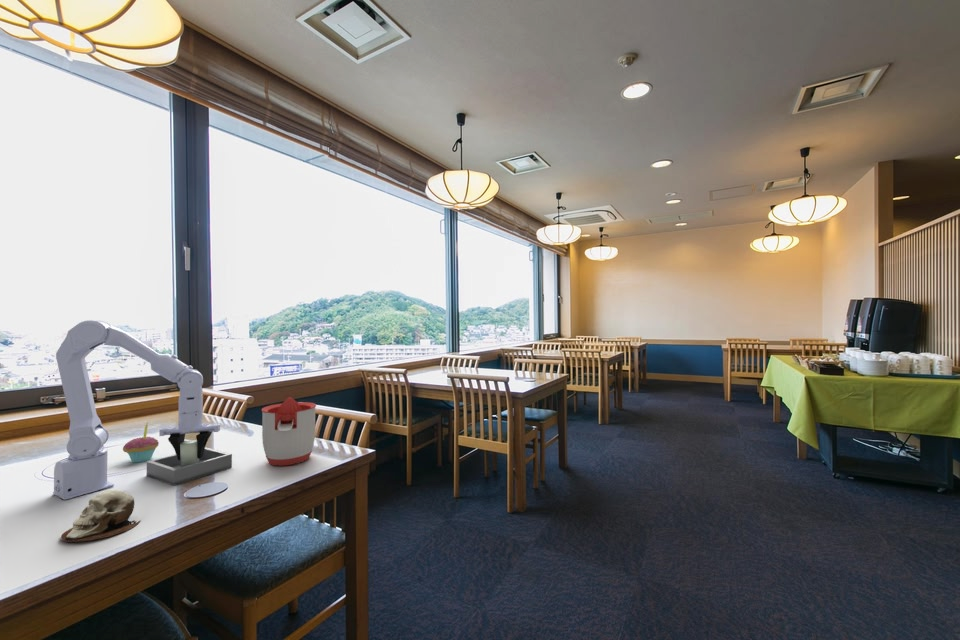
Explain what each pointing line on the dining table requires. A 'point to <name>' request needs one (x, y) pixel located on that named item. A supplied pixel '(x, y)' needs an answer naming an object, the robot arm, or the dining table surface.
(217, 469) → the bin
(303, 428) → the citrus juicer
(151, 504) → the dining table surface
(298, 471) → the dining table surface
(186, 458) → the white pillar candle
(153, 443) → the cupcake
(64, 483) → the robot arm
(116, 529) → the skull
